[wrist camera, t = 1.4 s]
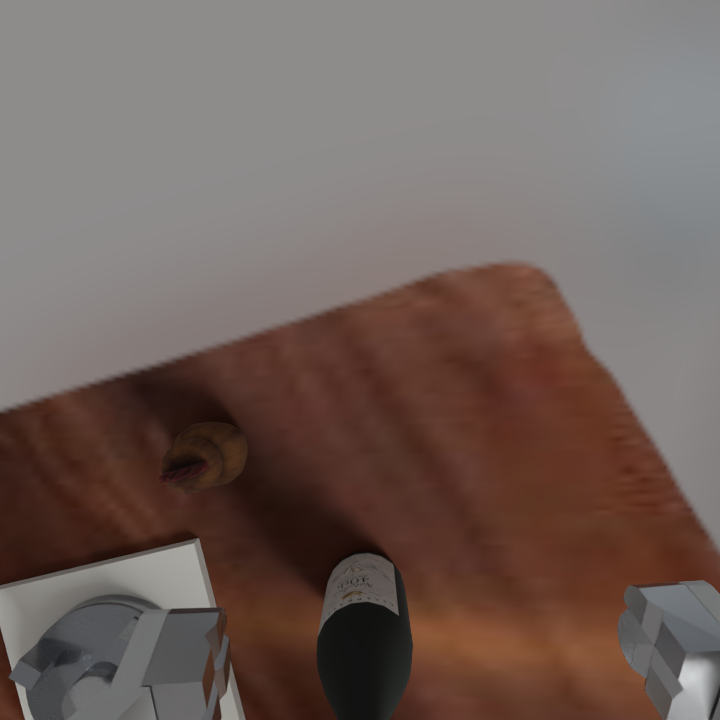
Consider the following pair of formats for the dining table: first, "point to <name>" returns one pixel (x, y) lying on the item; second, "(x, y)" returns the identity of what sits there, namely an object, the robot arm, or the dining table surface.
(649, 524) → the dining table surface
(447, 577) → the dining table surface
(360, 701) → the wine bottle
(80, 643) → the lathe chuck
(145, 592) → the base plate
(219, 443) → the wooden figurine
